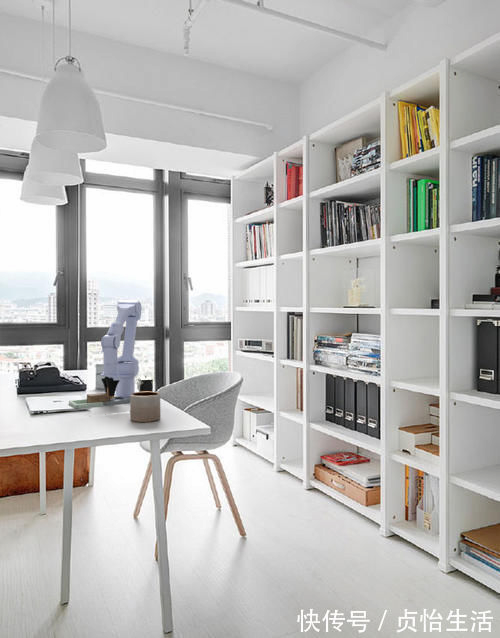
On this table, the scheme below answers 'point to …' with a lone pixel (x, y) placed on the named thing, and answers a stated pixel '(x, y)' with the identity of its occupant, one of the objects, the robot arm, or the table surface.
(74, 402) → the tray
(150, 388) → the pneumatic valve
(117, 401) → the slot bed
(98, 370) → the supplement box
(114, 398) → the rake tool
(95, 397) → the chip
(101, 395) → the chip
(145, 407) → the planter
